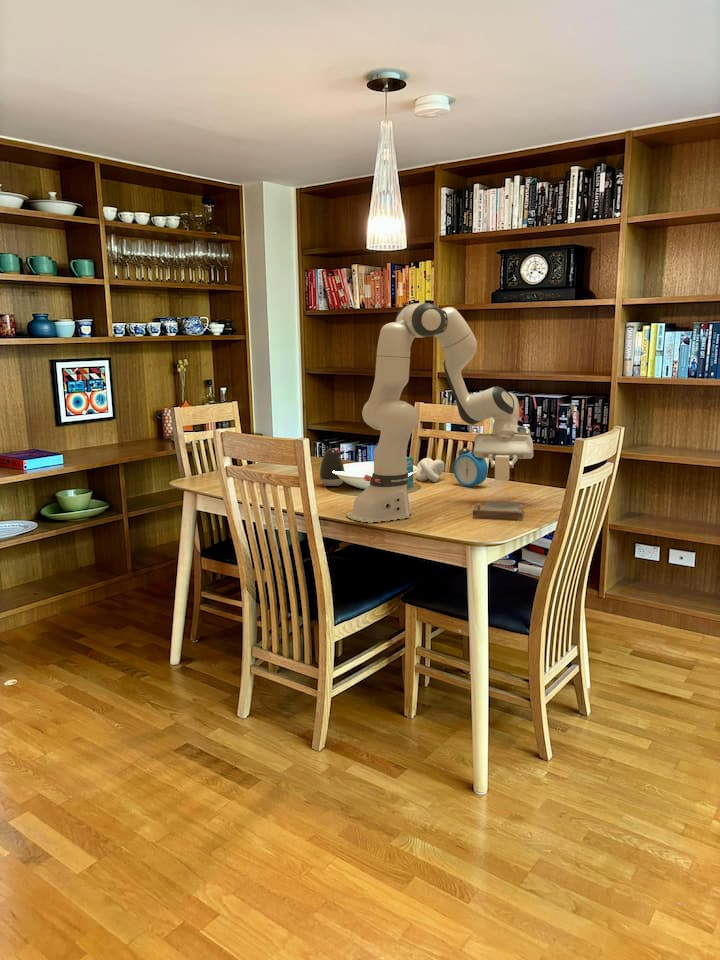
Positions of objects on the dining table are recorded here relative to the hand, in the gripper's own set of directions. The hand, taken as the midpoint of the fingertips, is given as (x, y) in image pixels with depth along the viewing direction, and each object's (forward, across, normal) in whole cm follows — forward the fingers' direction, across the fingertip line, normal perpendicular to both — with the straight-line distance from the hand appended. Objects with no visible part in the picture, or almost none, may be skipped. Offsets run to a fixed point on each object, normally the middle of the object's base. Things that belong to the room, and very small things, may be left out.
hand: (502, 466), depth 250 cm
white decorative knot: (-21, -33, +44) cm, 59 cm away
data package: (-10, -41, +32) cm, 53 cm away
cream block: (+3, 0, +4) cm, 4 cm away
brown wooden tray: (+19, 0, +3) cm, 19 cm away
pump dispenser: (-10, -70, +32) cm, 77 cm away
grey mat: (+10, 0, +11) cm, 15 cm away
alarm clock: (-16, -15, +38) cm, 45 cm away
